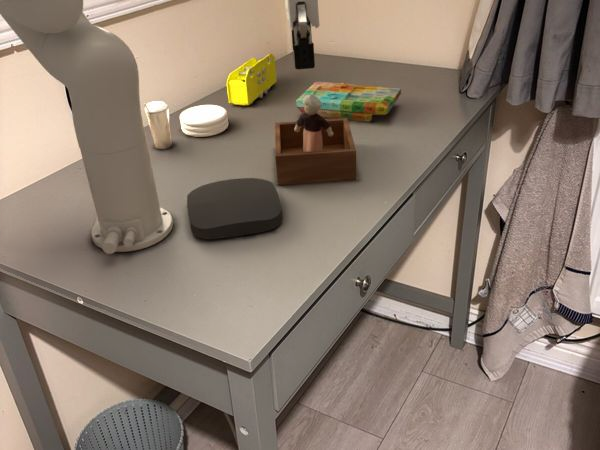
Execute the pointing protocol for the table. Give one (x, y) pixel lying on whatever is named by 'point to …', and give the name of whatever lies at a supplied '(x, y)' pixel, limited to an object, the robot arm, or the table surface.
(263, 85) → the yellow toy chassis
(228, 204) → the media streaming box
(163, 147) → the milkshake
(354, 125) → the table surface
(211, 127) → the white short cylinder
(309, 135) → the grandmother figurine
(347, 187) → the table surface
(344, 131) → the crate
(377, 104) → the puzzle game
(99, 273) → the table surface
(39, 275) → the table surface
